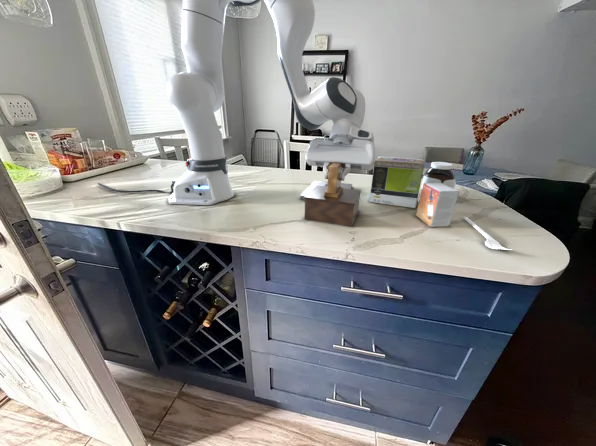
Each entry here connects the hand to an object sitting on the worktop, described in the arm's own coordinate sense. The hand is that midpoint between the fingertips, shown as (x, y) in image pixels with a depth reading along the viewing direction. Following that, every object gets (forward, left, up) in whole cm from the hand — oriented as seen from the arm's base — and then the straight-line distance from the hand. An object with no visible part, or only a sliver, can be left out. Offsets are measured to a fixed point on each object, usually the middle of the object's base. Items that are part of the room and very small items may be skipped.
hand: (334, 178), depth 70 cm
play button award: (+3, +22, -12) cm, 25 cm away
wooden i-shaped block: (0, +1, -5) cm, 5 cm away
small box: (+28, -6, -12) cm, 31 cm away
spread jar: (+45, +18, -12) cm, 50 cm away
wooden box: (0, +1, -12) cm, 12 cm away
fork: (+36, -16, -12) cm, 41 cm away
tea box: (+24, +11, -12) cm, 29 cm away
